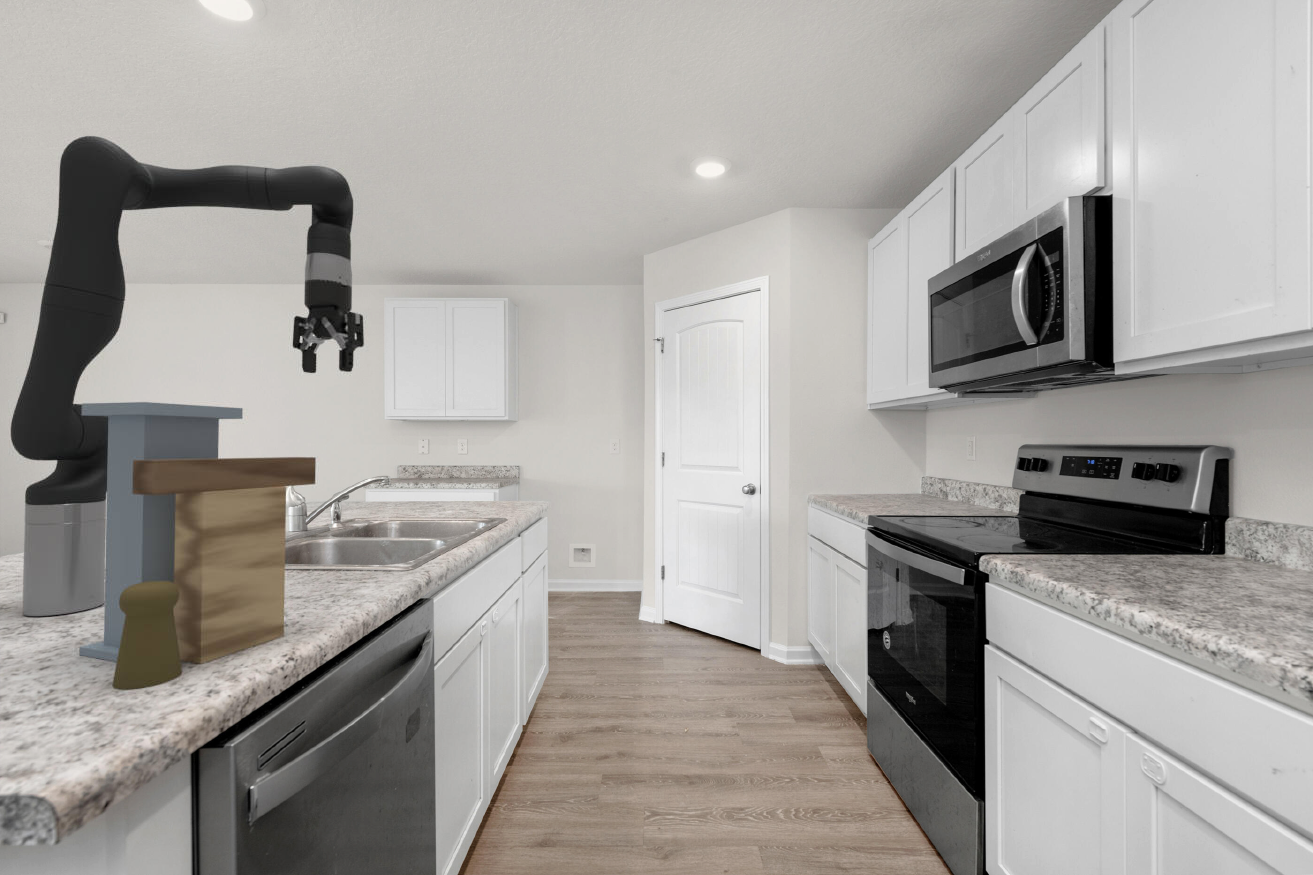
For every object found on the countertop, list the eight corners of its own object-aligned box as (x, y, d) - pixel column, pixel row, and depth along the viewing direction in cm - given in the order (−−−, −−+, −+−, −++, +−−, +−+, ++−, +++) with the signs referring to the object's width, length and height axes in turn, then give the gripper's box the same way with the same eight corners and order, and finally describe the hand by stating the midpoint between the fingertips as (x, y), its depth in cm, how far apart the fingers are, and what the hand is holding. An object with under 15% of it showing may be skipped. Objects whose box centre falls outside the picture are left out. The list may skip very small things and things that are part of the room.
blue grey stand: (76, 654, 74) (81, 403, 74) (179, 626, 85) (183, 409, 86) (139, 666, 70) (144, 402, 70) (238, 635, 81) (242, 408, 82)
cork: (141, 691, 63) (143, 590, 63) (97, 686, 64) (99, 587, 64) (195, 670, 69) (197, 577, 69) (154, 666, 70) (156, 575, 70)
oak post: (172, 658, 73) (175, 491, 73) (257, 632, 83) (260, 485, 83) (200, 663, 71) (203, 492, 71) (283, 635, 81) (286, 486, 82)
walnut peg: (132, 494, 68) (133, 460, 68) (295, 483, 88) (295, 457, 88) (155, 495, 67) (155, 460, 67) (315, 484, 87) (315, 457, 87)
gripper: (280, 281, 105) (279, 370, 104) (342, 274, 100) (340, 368, 100) (316, 291, 112) (315, 375, 111) (375, 285, 107) (374, 373, 107)
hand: (327, 372), depth 106 cm, fingers open, 8 cm apart
